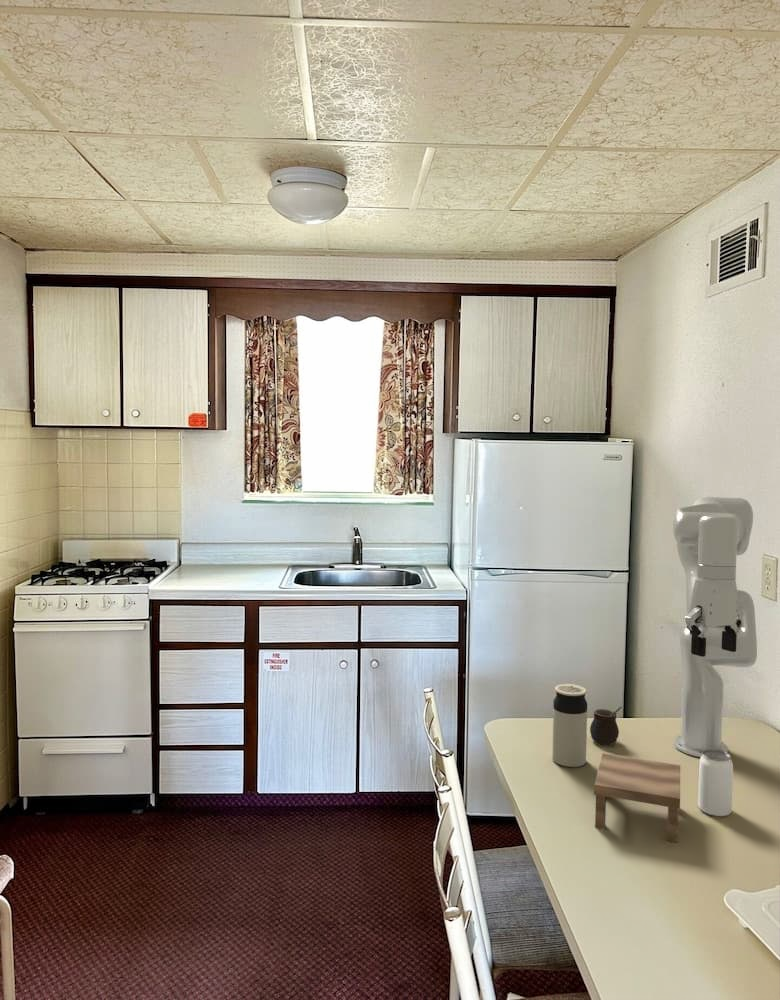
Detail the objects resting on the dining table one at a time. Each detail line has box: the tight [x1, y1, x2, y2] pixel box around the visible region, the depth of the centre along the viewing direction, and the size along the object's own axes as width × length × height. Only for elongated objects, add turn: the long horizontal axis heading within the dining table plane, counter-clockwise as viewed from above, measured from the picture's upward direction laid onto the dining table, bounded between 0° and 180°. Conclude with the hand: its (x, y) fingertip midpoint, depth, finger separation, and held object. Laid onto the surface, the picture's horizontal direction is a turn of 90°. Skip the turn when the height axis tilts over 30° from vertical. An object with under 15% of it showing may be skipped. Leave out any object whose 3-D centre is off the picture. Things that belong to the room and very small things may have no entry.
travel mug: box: [551, 683, 588, 768], centre depth 179 cm, size 8×8×18 cm
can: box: [697, 749, 734, 818], centre depth 155 cm, size 6×6×12 cm
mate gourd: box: [589, 706, 622, 746], centre depth 191 cm, size 7×8×10 cm
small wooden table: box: [593, 753, 681, 843], centre depth 153 cm, size 16×16×9 cm
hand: (713, 652), depth 157 cm, fingers open, 9 cm apart
